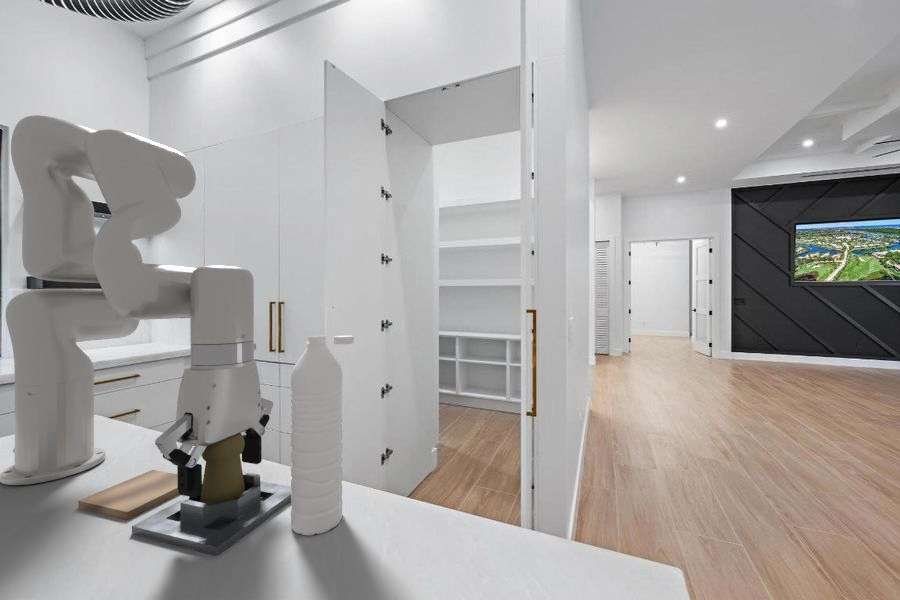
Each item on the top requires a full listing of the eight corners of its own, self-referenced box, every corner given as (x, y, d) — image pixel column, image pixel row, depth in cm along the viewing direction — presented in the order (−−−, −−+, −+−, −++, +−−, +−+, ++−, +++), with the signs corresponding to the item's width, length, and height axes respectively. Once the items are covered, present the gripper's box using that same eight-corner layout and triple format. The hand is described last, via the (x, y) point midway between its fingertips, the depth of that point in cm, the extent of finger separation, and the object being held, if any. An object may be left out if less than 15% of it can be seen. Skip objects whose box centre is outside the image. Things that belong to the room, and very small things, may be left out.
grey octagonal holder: (131, 533, 47) (131, 506, 47) (227, 481, 60) (227, 460, 60) (217, 555, 43) (217, 525, 43) (299, 494, 56) (299, 471, 56)
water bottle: (279, 530, 47) (279, 336, 47) (313, 504, 53) (313, 332, 53) (336, 545, 44) (336, 338, 44) (365, 515, 50) (365, 334, 51)
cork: (224, 528, 48) (224, 443, 48) (185, 522, 49) (185, 440, 49) (257, 503, 54) (257, 428, 54) (222, 498, 55) (222, 425, 55)
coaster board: (78, 507, 52) (78, 500, 52) (152, 475, 62) (152, 469, 62) (127, 519, 50) (127, 512, 50) (197, 484, 59) (197, 477, 59)
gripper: (251, 346, 61) (251, 450, 61) (135, 363, 44) (135, 506, 44) (289, 348, 58) (289, 455, 58) (182, 366, 42) (182, 516, 42)
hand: (223, 477), depth 51 cm, fingers open, 9 cm apart
